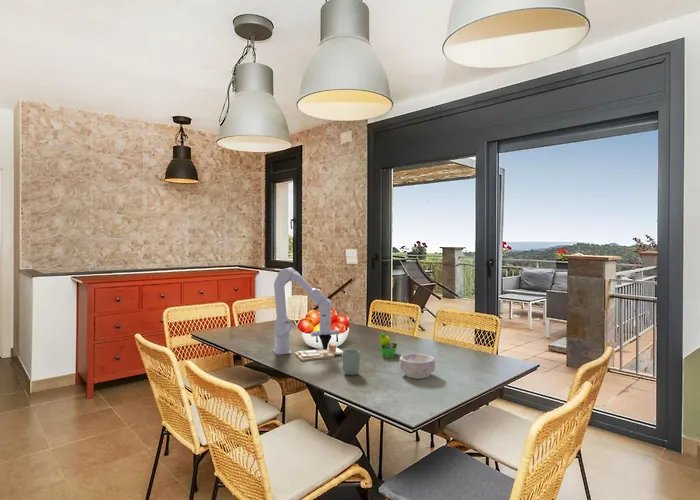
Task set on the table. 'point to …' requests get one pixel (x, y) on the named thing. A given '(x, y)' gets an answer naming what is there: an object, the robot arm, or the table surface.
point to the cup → (351, 361)
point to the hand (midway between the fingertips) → (324, 349)
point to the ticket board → (314, 355)
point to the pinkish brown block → (334, 349)
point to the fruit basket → (387, 346)
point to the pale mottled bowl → (417, 365)
